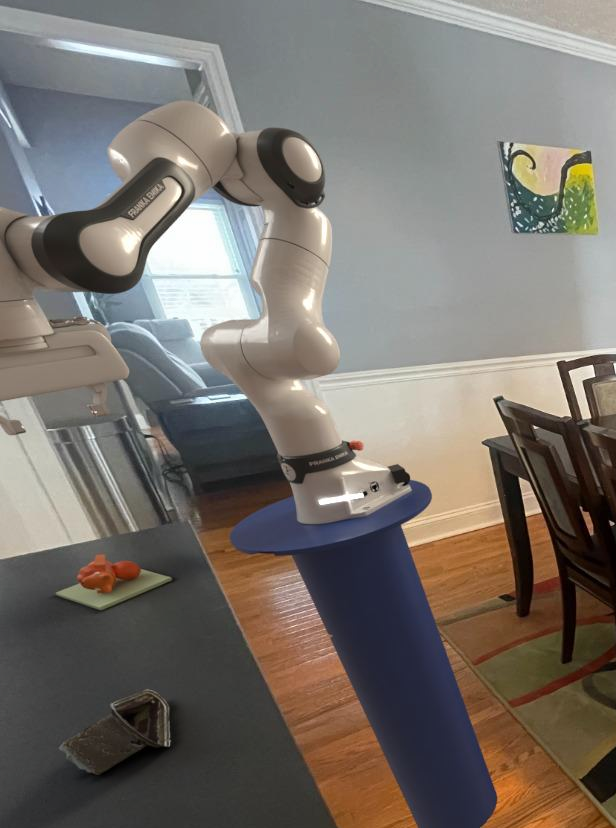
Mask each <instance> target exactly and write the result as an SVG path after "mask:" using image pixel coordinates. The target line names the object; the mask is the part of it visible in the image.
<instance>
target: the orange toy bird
mask: <svg viewBox="0 0 616 828" xmlns="http://www.w3.org/2000/svg"><path fill="white" fill-rule="evenodd" d="M141 569H142V568H141V567H140V566H139V565H138V563H136V562H134V561H130V560H120V561H117V562H115V563H113V562H111V561H110V560H107V559H106V554H95V556H94V560H93V561H91V562H89V564H87V565H85V566H84V567H81V568H80V569H79V570H78V571H79V572H78V574H77V577H76V581H77V582H78V583H79V584H81V586H82V587H84V588H86V589H90V590H96V591H97V593H107V592H108V593H109V592H111V590H112V587H113V586H114V585H115V583H116V578H118V579H123V580H132V579H135V578H137V577H138V576H139V575H140V572H141Z"/></svg>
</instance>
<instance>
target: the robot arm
mask: <svg viewBox="0 0 616 828" xmlns="http://www.w3.org/2000/svg"><path fill="white" fill-rule="evenodd" d="M106 152H107V158H108V161H109V164H110V166H111V168H112V170H113V171H114V173H115V174H116V177H118V179H119V180H120V181H121V182H122V183H121V184H120V185H119V186H117V188H115V190H113V192H111V193H110V194H109V195H108V196H107V197H106V198H105V199H104V200H103V201H101V202H100V203H99V204H98V205H97V206H95V207H94V208H91V209H86V210H77V211H76V210H74V211H69V212H61V213H57V214H51V215H50V214H48V215H40V216H39V215H38V216H31V215H30V214H27V213H23V212H20V211H16V210H12V209H10V208H6V207H4V206H1V205H0V402H4V401H12V400H17V399H20V398H21V399H22V398H28V397H34V396H39V395H43V394H49V393H55V392H62V391H66V390H72V389H77V388H84V387H86V389H87V391H88V392H91V393H93V399H92V403H90V404H86V407H87V409H88V410H89V411H90V414H91V415H92V416H93V417H94V418H100V417H105V416H109V415H111V412H110V410H109V408H108V407H107V405H106V402H107V399H108V392H109V390H108V388H107V386H106V383H111V382H116V381H122V380H126V379H128V377H129V375H130V368H129V367H128V365H127V363H126V361H125V360H124V359H123V357H122V355H121V354H120V353H119V351H118V350H117V349H116V347H115V346H114V345H113V343H112V338H111V335H110V333H109V331H108V329H107V328H106V326H105V325H104V324H103V323H101V322H100V321H99V320H96V319H92V318H88V317H87V316H75V317H72V318H71V317H70V318H55V319H48V318H47V316H46V314H45V312H44V311H43V308H42V307H41V306H40V304H39V302H38V300H37V299H36V297H35V295H34V293H33V291H34V290H36V291H41V292H47V293H48V292H49V293H94V294H104V295H117V294H121V293H126V292H127V291H130V290H132V289H133V288H134V287H136V286H137V284H139V282H140V281H141V279H142V278H143V275H144V271H145V268H146V264H147V259H148V256H149V253H150V251H151V250H152V248H153V247H154V245H156V243H157V242H158V241H159V239H160V238H161V237H163V236H164V234H165V233H166V232H167V231H168V230H169V229H170V228H171V227H172V226H173V225H174V223H176V221H177V220H178V219H179V218H180V217H181V216H182V215H183V214H184V213H185V212H186V211H187V209H188V208H189V207H190V206H191V205H193V204H194V203H196V202H197V201H198V200H200V198H202V197H204V195H206V194H207V193H208V192H209V191H210V190H211V189H213V190H214V191H215V192H216V193H217V194H218V195H220V196H221V197H222V198H224V199H225V200H227V201H228V202H231V203H233V204H235V205H240V206H244V207H261V211H262V214H263V227H262V231H261V233H260V235H259V240H258V244H257V247H256V251H255V254H254V259H253V263H252V265H251V270H250V274H249V283H250V285H251V287H252V288H253V291H255V292H256V293H257V295H259V296H260V297H261V304H262V309H261V314H260V316H259V317H258V318H250V319H249V318H247V319H244V318H243V319H241V318H240V319H230V320H226V321H222V322H219V323H216V324H214V325H211V326H209V327H208V328H206V329H205V330H204V331H203V333H202V334H201V336H200V343H199V344H200V351H201V354H202V356H203V358H204V359H205V361H206V362H207V363H208V365H209V366H210V367H212V369H214V370H215V371H217V372H219V373H220V374H222V375H224V376H225V377H226V378H227V379H229V380H230V381H231V382H233V384H234V385H235V386H236V387H237V388H238V389H239V390H240V392H241V393H242V394H243V395H244V396H245V398H247V400H248V401H249V402H250V403H251V405H252V406H253V408H255V410H256V412H257V413H258V414H259V416H260V417H261V419H262V421H263V423H264V425H265V427H266V429H267V431H268V433H269V435H270V438H271V440H272V442H273V445H274V447H275V449H276V451H277V454H276V458H277V460H278V462H279V465H280V467H281V470H282V472H283V474H284V476H285V478H286V480H287V481H288V482H289V484H290V487H291V491H292V496H294V499H295V504H296V512H297V521H298V522H300V523H303V524H324V523H331V522H336V521H341V520H345V519H351V518H360V517H365V516H367V515H369V514H371V513H373V512H375V511H376V510H378V509H380V508H382V507H384V506H385V505H387V504H389V503H391V502H392V501H394V500H396V499H398V498H400V497H401V496H403V495H405V494H407V493H408V492H410V491H411V490H412V489H411V487H410V485H408V483H409V481H410V480H411V475H410V474H409V473H408V472H407V471H406V469H405V468H404V467H403V466H402V465H400V464H398V463H396V464H393V465H388V466H387V465H385V464H383V463H379V462H376V461H373V460H371V459H368V458H365V457H362V456H360V455H357V454H356V452H355V451H363V450H364V447H365V446H364V443H363V442H362V441H361V440H351V441H347V440H342V438H341V435H340V432H339V429H338V427H337V425H336V422H335V420H334V417H333V414H332V412H331V409H330V407H329V405H327V403H326V402H325V401H323V399H321V398H319V397H317V396H316V395H315V394H313V393H312V392H311V391H310V390H309V389H308V388H307V387H306V386H305V385H304V383H303V382H302V381H310V380H313V379H317V378H321V377H326V376H328V375H331V374H332V373H334V372H335V371H336V370H337V368H338V366H339V365H340V360H341V350H340V347H339V344H338V341H337V339H336V337H335V336H334V335H333V333H332V332H331V331H330V330H328V329H327V326H326V325H325V322H324V316H323V298H324V294H325V290H326V289H325V288H326V284H327V279H328V276H329V271H330V267H331V266H330V265H331V261H332V253H333V227H332V223H331V221H330V220H329V218H328V216H327V215H326V214H325V213H324V212H323V211H322V210H320V208H318V207H319V206H320V205H321V204H323V202H324V200H325V198H326V194H325V186H326V174H325V173H326V172H325V171H326V170H325V167H324V163H323V160H322V158H321V156H320V154H319V152H318V150H317V149H316V147H315V146H314V145H313V144H312V142H311V141H309V139H308V138H307V137H305V136H304V135H303V134H301V133H299V132H298V131H295V130H292V129H290V128H284V127H267V128H265V129H256V130H250V131H245V132H240V133H235V132H233V131H232V130H231V128H230V127H229V126H228V125H227V123H226V122H225V121H224V120H223V119H222V118H221V117H220V116H219V115H218V114H217V113H215V112H214V111H213V110H211V109H210V108H208V107H207V106H205V105H203V104H200V103H199V102H195V101H191V100H185V99H181V100H176V101H173V102H170V103H166V104H164V105H161V106H159V107H156V108H154V109H152V110H150V111H147V112H146V113H144V114H142V115H140V116H139V117H138V118H136V119H134V120H133V121H132V122H130V123H129V124H127V125H126V126H125V127H123V128H122V129H121V130H120V131H119V132H118V133H117V134H116V135H115V136H114V137H113V139H112V141H111V142H110V144H109V145H108V147H107V148H106ZM0 427H1V428H2V429H3V431H4V432H5V434H6V435H8V436H17V435H20V434H24V433H27V431H26V429H25V427H23V424H22V422H21V420H18V419H10V420H9V419H7V418H6V417H4V416H3V415H1V414H0Z"/></svg>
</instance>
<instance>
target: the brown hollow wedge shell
mask: <svg viewBox="0 0 616 828" xmlns="http://www.w3.org/2000/svg"><path fill="white" fill-rule="evenodd" d="M109 707H110V708H111V709H110V714H108V715H106V716H105V717H103V718H101V719H99V720H98V721H96V722H95V723H93V724H91V725H89V726H88V727H86V728H85V729H83V730H82V731H80V732H78V733H76V734H74V735H73V736H71V737H69V738H67V739H66V740H64V741H63V742H62V743H61V744H60V746H59V748H58V749H59V751H61V752H64V753H65V754H66V757H65V759H66V760H68V761H69V762H71V763H72V764H73V765H75V766H76V767H77V768H78V769H79V770H84V771H86V772H87V773H89V774H90V773H92V774H94V775H97V776H99V775H102V774H103V773H105V772H107V771H109V770H110V769H112V768H113V767H114V766H116V765H117V764H120V763H121V762H124V761H125V760H126V759H128V758H129V757H131V756H133V755H135V754H136V753H138V752H139V751H141V750H142V749H144V748H146V747H148V746H150V747H153V748H157V749H159V748H163V747H170V746H171V743H172V740H171V739H170V738H171V732H170V730H171V729H170V728H171V726H170V724H171V722H170V706H169V703H168V702H167V701H166V699H164V698H163V697H162V696H161V695H160V694H159V693H158V692H157V691H154V690H152V689H149V688H146V689H143V690H142V691H141V692H136V693H135V694H132V695H130V696H126V697H122V698H120V699H119V700H116V701H114V702H110V704H109Z"/></svg>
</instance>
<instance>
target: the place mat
mask: <svg viewBox="0 0 616 828" xmlns="http://www.w3.org/2000/svg"><path fill="white" fill-rule="evenodd" d="M140 569H141V572H140V575H139V576H138V577H137V578H135V579H132V580H123V579H118V578H116V583H115V585H114V586H113V587H112V590H111V592H109V593H108V592H107V593H97V591H96V590H90V589H86V588H84V587H82V586H81V584H80V583H77V584H75V585H71V586H69V587H67V588H64V589H62V590H58V591H57V592H55V595H56V596H57V597H60V598H63V599H66V600H69V601H71V602H75V603H78V604H81V605H84V606H86V607H89V608H93V609H96V610H98V611H103V610H106V609H108V608H111V607H113V606H115V605H117V604H120V603H122V602H124V601H127V600H129V599H131V598H134V597H136V596H139V595H142V594H144V593H146V592H148V591H151V590H153V589H155V588H158V587H160V586H162V585H164V584H167V583H170V582H171V581H173V578H172V577H171V576H168V575H165V574H161V573H157V572H153V571H149V570H146V569H142V568H140Z"/></svg>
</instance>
